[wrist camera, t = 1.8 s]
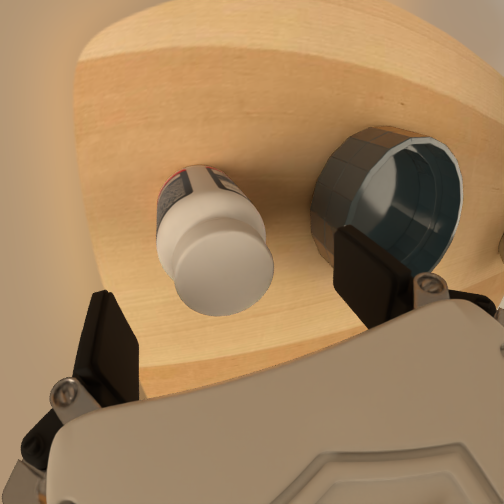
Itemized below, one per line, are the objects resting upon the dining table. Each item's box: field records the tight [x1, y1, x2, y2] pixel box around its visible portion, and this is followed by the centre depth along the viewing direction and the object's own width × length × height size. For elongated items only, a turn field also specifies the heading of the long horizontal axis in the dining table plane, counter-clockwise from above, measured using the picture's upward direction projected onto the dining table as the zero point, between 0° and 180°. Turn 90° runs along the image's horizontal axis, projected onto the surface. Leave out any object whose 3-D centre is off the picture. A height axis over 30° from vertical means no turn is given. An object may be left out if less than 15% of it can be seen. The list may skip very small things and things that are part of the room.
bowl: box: [310, 126, 463, 278], centre depth 20 cm, size 13×13×5 cm
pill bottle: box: [156, 165, 274, 316], centre depth 15 cm, size 5×5×9 cm
